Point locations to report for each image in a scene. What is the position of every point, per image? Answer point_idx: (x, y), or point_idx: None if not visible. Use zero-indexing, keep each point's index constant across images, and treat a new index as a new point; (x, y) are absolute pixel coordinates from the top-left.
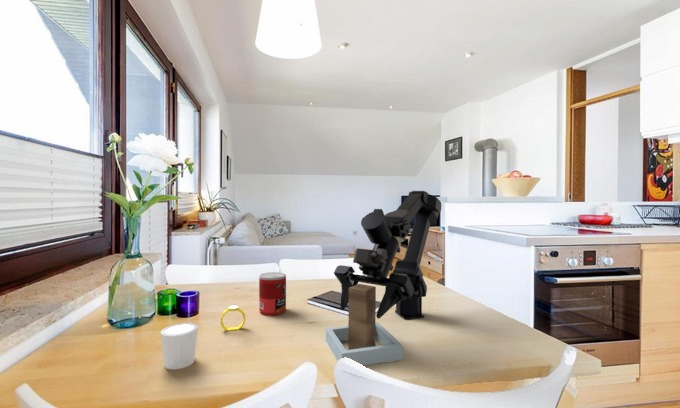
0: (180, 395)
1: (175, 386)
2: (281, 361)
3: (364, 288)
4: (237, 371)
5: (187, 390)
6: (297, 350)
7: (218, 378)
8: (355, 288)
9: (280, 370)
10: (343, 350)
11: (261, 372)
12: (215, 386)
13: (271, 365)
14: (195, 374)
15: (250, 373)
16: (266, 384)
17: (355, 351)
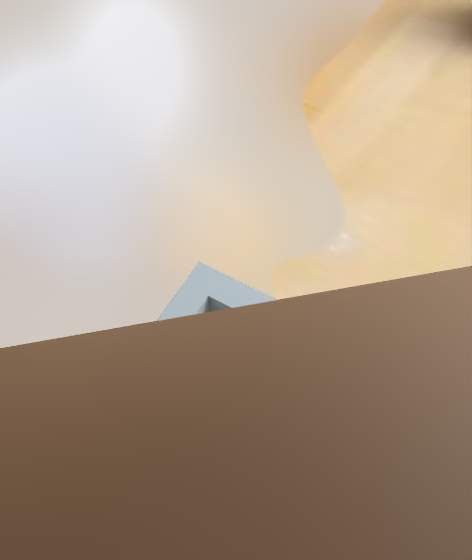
0: (386, 6)
1: (431, 7)
2: (401, 186)
3: (149, 551)
4: (419, 91)
5: (398, 15)
6: (454, 268)
7: (411, 58)
8: (349, 338)
9: (347, 159)
10: (216, 286)
11: (372, 124)
12: (377, 46)
13: (395, 156)
14: (465, 36)
15: (386, 106)
16: (304, 108)
17: (165, 317)
